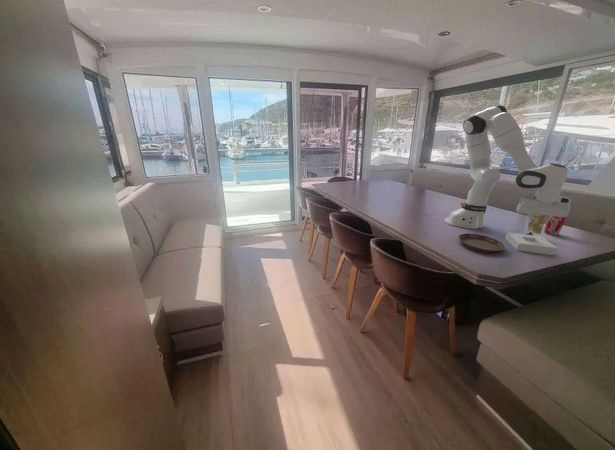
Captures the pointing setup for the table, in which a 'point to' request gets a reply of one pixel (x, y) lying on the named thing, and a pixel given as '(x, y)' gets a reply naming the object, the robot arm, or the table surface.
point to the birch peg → (537, 224)
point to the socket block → (531, 243)
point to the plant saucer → (481, 243)
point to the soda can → (554, 225)
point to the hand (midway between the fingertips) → (537, 222)
